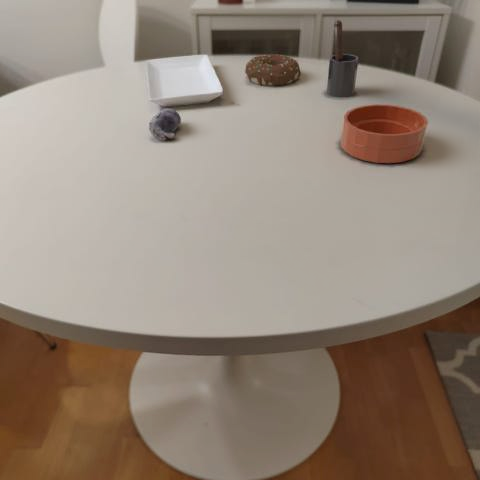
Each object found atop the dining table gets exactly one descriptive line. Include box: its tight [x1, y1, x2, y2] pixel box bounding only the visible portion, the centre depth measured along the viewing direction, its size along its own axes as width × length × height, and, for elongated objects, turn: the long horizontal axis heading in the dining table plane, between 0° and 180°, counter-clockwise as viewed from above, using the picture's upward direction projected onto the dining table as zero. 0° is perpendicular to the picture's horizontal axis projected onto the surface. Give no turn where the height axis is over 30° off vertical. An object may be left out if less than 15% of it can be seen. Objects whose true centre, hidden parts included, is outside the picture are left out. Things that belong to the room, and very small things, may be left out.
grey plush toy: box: [148, 107, 182, 142], centre depth 91 cm, size 5×5×10 cm
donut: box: [244, 53, 302, 87], centre depth 113 cm, size 14×14×5 cm
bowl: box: [340, 104, 429, 164], centre depth 82 cm, size 14×14×6 cm
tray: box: [144, 54, 224, 108], centre depth 112 cm, size 17×32×4 cm, turn 10°
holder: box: [326, 53, 359, 98], centre depth 103 cm, size 6×6×8 cm
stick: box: [333, 20, 344, 61], centre depth 99 cm, size 2×2×16 cm
